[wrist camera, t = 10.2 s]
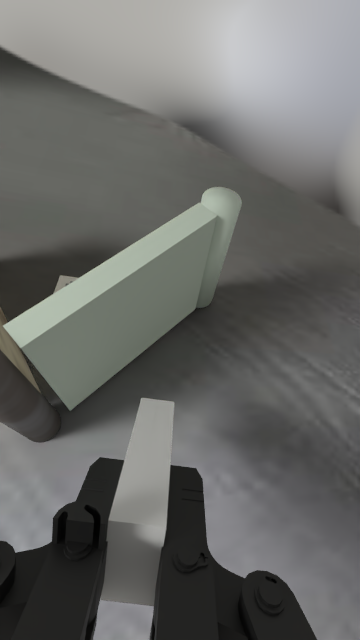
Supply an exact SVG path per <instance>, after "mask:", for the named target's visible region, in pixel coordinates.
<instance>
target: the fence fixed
mask: <svg viewBox="0 0 360 640" xmlns="http://www.w3.org/2000/svg"><path fill="white" fill-rule="evenodd" d="M6 323H8V322H7V320H6V318H5V315H4V313H3V311H2V309H1V307H0V422H1V423H3V424H5V425H7V426H8V427H10V428H12V429H13V430H15V431H17V432H18V433H20V434H22V435H23V436H25V437H27V438H28V439H30V440H32V441H34V442H45V441H48V440H50V439H51V438H53V437H54V436H55V435H56V434H57V432H58V431H59V428H60V425H61V417H60V415H59V413H58V412H57V410H56V409H55V408H54V407H53V406H52V405H51V404H50V403H49V402H48V401H47V400H46V399H45V397H44V396H43V395H42V394H41V392H40V390H39V388H38V386H37V383H36V381H35V379H34V377H33V375H32V373H31V371H30V369H29V366H28V364H27V362H26V360H25V358H24V356H23V354H22V352H21V349H20V347H19V346H18V345H17V344H16V342H15V341H14V340H13V338H12V337H11V336H10V335H9V333H8V332H7V331H6V330H5V328H4V327H3V325H5V324H6Z"/></svg>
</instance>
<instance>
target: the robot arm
mask: <svg viewBox="0 0 360 640" xmlns="http://www.w3.org/2000/svg"><path fill="white" fill-rule="evenodd" d="M173 417H174V402H172V401H164V400H156V399H149V398H141V401H140V405H139V409H138V412H137V416H136V420H135V423H134V427H133V431H132V435H131V438H130V442H129V446H128V449H127V453H126V457H125V460H117V459H109V458H101V457H100V458H99V459H98V460H97V461H96V462H94V463H93V464H92V465H91V466H90V468H89V471H88V473H87V476H86V478H85V480H84V483H83V485H82V488H81V490H80V493H79V495H78V497H77V500H76V501H75V502H72V503H69V504H67V505H65V506H64V507H63V508H61V509H60V510H59V511H58V512H57V513H56V515H55V516H54V518H53V533H52V542H51V543H49V544H47V545H45V546H43V547H40V548H37V549H33V550H28V551H22V552H17V553H15V551H14V549H13V547H12V546H11V545H10V544H8V543H7V542H5V541H0V640H93V636H94V631H95V627H96V620H97V610H98V606H99V601H100V597H101V600H106V601H115V602H123V603H132V604H140V605H149V606H154V612H153V620H152V627H151V633H150V640H317V638H316V637H315V635H314V633H313V631H312V629H311V627H310V625H309V623H308V621H307V619H306V617H305V615H304V613H303V611H302V609H301V607H300V605H299V603H298V602H297V600H296V598H295V596H294V594H293V592H292V591H291V590H290V588H289V587H288V585H287V584H286V583H285V582H284V581H283V580H282V579H280V578H279V577H278V576H277V575H274V574H272V573H270V572H268V571H258V570H257V571H254V572H252V573H249V574H248V575H247V577H246V578H243V577H240V576H238V575H236V574H234V573H232V572H230V571H228V570H226V569H225V568H223V567H222V566H221V565H219V564H218V563H217V562H216V561H215V559H214V558H213V557H212V555H211V553H210V551H209V549H208V545H207V537H206V523H205V509H204V495H203V481H202V478H201V476H200V474H199V473H198V471H197V469H196V468H189V467H181V466H173V465H170V463H171V447H172V432H173Z"/></svg>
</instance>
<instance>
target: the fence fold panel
mask: <svg viewBox="0 0 360 640" xmlns="http://www.w3.org/2000/svg"><path fill="white" fill-rule="evenodd" d="M241 205H242V201H241V198H240V196H239V195H238V194H237V193H236V192H234V191H233V190H231V189H228V188H224V187H213V188H210V189H208V190H206V191H205V192H204V193H203V195H202V200H201V203H200V202H199V203H198V204H196V205H195V206H193V207H191V208H190V209H188V210H187V211H185V212H183V213H182V214H180V215H179V216H177V217H175V218H174V219H172V220H171V221H169V222H167V223H166V224H164V225H163V226H161V227H159V228H158V229H156V230H155V231H153V232H152V233H150V234H148V235H147V236H145V237H144V238H142V239H140V240H139V241H137V242H136V243H134V244H132V245H131V246H129V247H128V248H126V249H124V250H123V251H121V252H120V253H118V254H116V255H115V256H113V257H112V258H110V259H108V260H107V261H105V262H104V263H102V264H100V265H99V266H97V267H96V268H94V269H92V270H91V271H89V272H88V273H86V274H85V275H83V276H81V277H80V278H78V279H77V280H75V281H73V282H72V283H70V284H69V285H67V286H65V287H64V288H62V289H61V290H59V291H57V292H56V293H54V294H53V295H51V296H49V297H48V298H46V299H45V300H43V301H41V302H40V303H38V304H37V305H35V306H33V307H32V308H30V309H29V310H27V311H25V312H24V313H22V314H21V315H19V316H18V317H16V318H14V319H13V320H11V321H10V322H8V323H6V324H5V325H3V327H4V328H5V330H6V331H7V332H8V333H9V335H10V336H11V337H12V338H13V340H14V341H15V342H16V344H17V345H18V346H19V347H20V349H21V350H22V351H23V352H24V354H25V355H26V356H27V357H28V359H29V360H30V361H31V362H32V364H33V365H34V366H35V368H36V369H37V370H38V371H39V373H40V374H41V375H42V376H43V378H44V379H45V380H46V381H47V383H48V384H49V385H50V386H51V388H52V389H53V390H54V392H55V393H56V394H57V395H58V397H59V398H60V399H61V400H62V401H63V403H64V404H65V405H66V406H67V408H68V409H69V410H70V411H71V410H72V409H73V408H74V407H76V406H77V405H78V404H79V403H80V402H82V401H83V400H84V399H85V398H87V397H88V396H89V395H90V394H92V393H93V392H94V391H95V390H96V389H98V388H99V387H100V386H101V385H103V384H104V383H105V382H106V381H108V380H109V379H110V378H111V377H112V376H114V375H115V374H116V373H117V372H119V371H120V370H121V369H122V368H124V367H125V366H126V365H127V364H128V363H130V362H131V361H132V360H133V359H135V358H136V357H137V356H138V355H140V354H141V353H142V352H143V351H144V350H146V349H147V348H148V347H149V346H151V345H152V344H153V343H154V342H156V341H157V340H158V339H159V338H160V337H162V336H163V335H164V334H165V333H167V332H168V331H169V330H170V329H172V328H173V327H174V326H175V325H176V324H178V323H179V322H180V321H181V320H183V319H184V318H185V317H186V316H188V315H189V314H190V313H191V312H192V311H194V310H195V308H204V307H206V306H208V305H209V304H210V303H211V302H212V299H213V296H214V293H215V289H216V286H217V283H218V280H219V276H220V273H221V270H222V267H223V263H224V260H225V257H226V254H227V250H228V247H229V244H230V241H231V238H232V234H233V231H234V228H235V225H236V221H237V218H238V215H239V212H240V208H241Z"/></svg>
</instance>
